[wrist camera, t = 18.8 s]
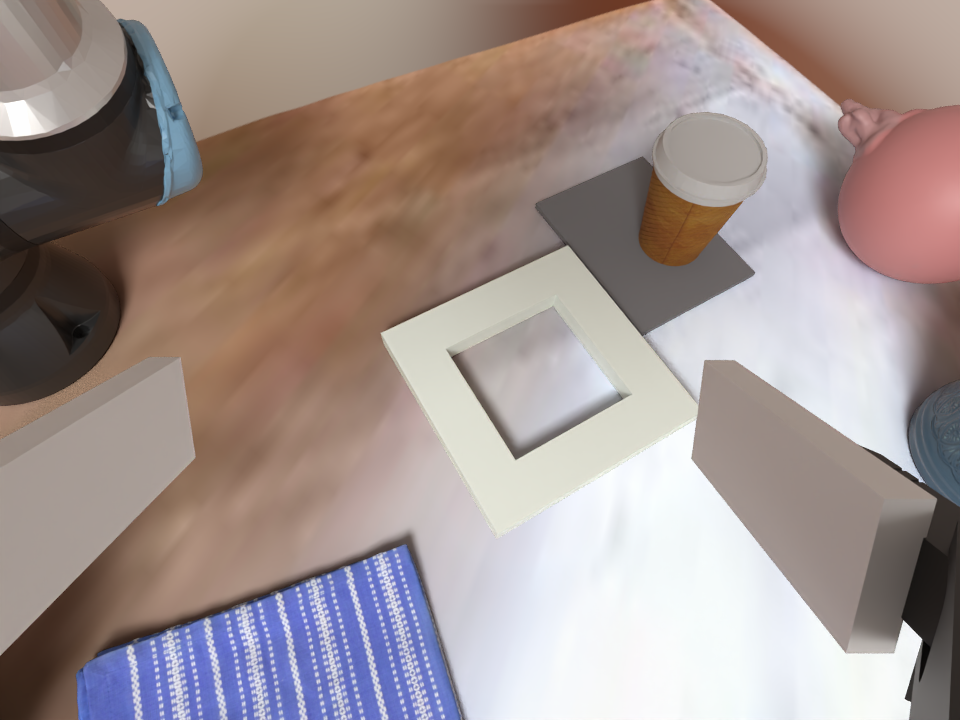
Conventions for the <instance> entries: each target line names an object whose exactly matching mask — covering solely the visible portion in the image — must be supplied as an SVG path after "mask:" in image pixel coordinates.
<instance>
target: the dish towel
mask: <svg viewBox="0 0 960 720" xmlns="http://www.w3.org/2000/svg"><path fill="white" fill-rule="evenodd" d="M97 656H98V657H96V658H94V659H92V660H90V661H89V662H87V663H86V664H85V666H84V667H83V668H82V669H80V670H79V671H78V672H77V674H76V679H77V703H78V716H79V720H463V718H462V714H461V711H460V707H459V705H458V700H457V698H456V693H455V691H454V687H453V684H452V681H451V677H450V674H449V671H448V667H447V664H446V660H445V657H444V654H443V650H442V647H441V643H440V640H439V636H438V633H437V629H436V627H435V623H434V620H433V616H432V614H431V610H430V607H429V604H428V601H427V598H426V595H425V592H424V588H423V585H422V581H421V579H420V576H419V574H418V571H417V568H416V565H415V563H414V561H413V558H412V556H411V553H410V550H409V549H408V547H407V544H404V545H401V546H399V547H397V548H393V549H392V550H389V551H386V552H383V553H378V554H377V555H374V556H372V557H370V558H367V559H365V560H362V561H358V562H356V563H353V564H350V565H348V566H342V567H340V568H339V569H336V570H334V571H331V572H328V573H323V574H322V575H319V576H316V577H312V578H309V579H307V580H304V581H302V582H299V583H297V584H293V585H291V586H289V587H286V588H284V589H281V590H277V591H274V592H272V593H270V594H268V595H265V596H262V597H259V598H256V599H253V600H251V601H248V602H244V603H241V604H238V605H236V606H234V607H232V608H230V609H228V610H225V611H222V612H219V613H216V614H213V615H210V616H207V617H204V618H201V619H198V620H195V621H191V622H188V623H185V624H183V625H177V626H174V627H171V628H168V629H166V630H164V631H162V632H159V633H155V634H153V635H148V636H145V637H143V638H137V639H134V640H132V641H130V642H128V643H125V644H122V645H119V646H116V647H112V648H109V649H106V650H103V651H101V652H99V653H98V654H97Z"/></svg>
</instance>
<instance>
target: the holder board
mask: <svg viewBox="0 0 960 720" xmlns="http://www.w3.org/2000/svg"><path fill="white" fill-rule="evenodd" d="M551 307H554V308H555V309H556V311H557V312H558V313H559V315H560V316H561V317H562V319H563V320H564V321H565V323H566V324H567V325H568V327H569V328H570V329H571V331H572V332H573V333H574V335H575V336H576V337H577V338H578V340H579V341H580V342H581V344H582V345H583V346H584V348H585V349H586V350H587V352H588V353H589V354H590V356H591V357H592V358H593V360H594V361H595V362H596V364H597V365H598V366H599V368H600V369H601V370H602V372H603V373H604V374H605V376H606V377H607V378H608V380H609V381H610V382H611V384H612V385H613V386H614V388H615V389H616V390H617V392H618V393H619V394H620V396H621V397H622V398H623V400H621V401H619V402H618V403H616V404H614V405H612V406H610V407H609V408H607V409H605V410H603V411H602V412H600V413H598V414H596V415H595V416H593V417H591V418H589V419H588V420H586V421H584V422H582V423H580V424H579V425H577V426H575V427H573V428H572V429H570V430H568V431H566V432H565V433H563V434H561V435H559V436H558V437H556V438H554V439H552V440H551V441H549V442H547V443H545V444H543V445H542V446H540V447H538V448H536V449H535V450H533V451H531V452H529V453H528V454H526V455H524V456H522V457H521V458H519V459H517V460H515V458H514V457H513V455H512V454H511V452H510V450H509V449H508V447H507V446H506V444H505V442H504V441H503V439H502V438H501V436H500V435H499V433H498V431H497V430H496V428H495V427H494V425H493V423H492V422H491V420H490V419H489V417H488V415H487V414H486V412H485V411H484V409H483V408H482V406H481V404H480V403H479V401H478V400H477V398H476V396H475V395H474V393H473V392H472V390H471V388H470V387H469V385H468V384H467V382H466V381H465V379H464V377H463V376H462V374H461V373H460V371H459V369H458V368H457V366H456V365H455V363H454V361H453V360H452V358H451V357H452V356H454V355H456V354H458V353H460V352H462V351H464V350H466V349H468V348H470V347H472V346H474V345H476V344H478V343H480V342H482V341H484V340H486V339H488V338H490V337H492V336H494V335H496V334H498V333H500V332H502V331H504V330H506V329H508V328H510V327H512V326H514V325H516V324H518V323H520V322H522V321H524V320H526V319H528V318H530V317H532V316H534V315H536V314H538V313H540V312H542V311H544V310H546V309H549V308H551ZM381 335H382V339H383V343H384V345H385V347H386V349H387V351H388V352H389V354H390V356H391V358H392V359H393V361H394V363H395V365H396V366H397V368H398V370H399V371H400V373H401V375H402V377H403V378H404V380H405V382H406V384H407V385H408V387H409V389H410V391H411V392H412V394H413V396H414V397H415V399H416V401H417V403H418V404H419V406H420V408H421V410H422V411H423V413H424V415H425V417H426V418H427V420H428V422H429V423H430V425H431V427H432V429H433V430H434V432H435V434H436V436H437V437H438V439H439V441H440V443H441V444H442V446H443V448H444V449H445V451H446V453H447V455H448V456H449V458H450V460H451V462H452V463H453V465H454V467H455V469H456V470H457V472H458V474H459V475H460V477H461V479H462V481H463V482H464V484H465V486H466V488H467V489H468V491H469V493H470V495H471V496H472V498H473V500H474V501H475V503H476V505H477V507H478V508H479V510H480V512H481V514H482V515H483V517H484V519H485V521H486V522H487V524H488V526H489V527H490V529H491V531H492V533H493V534H494V536H495V538H496V539H498V538H500V537H501V536H503V535H505V534H506V533H508V532H510V531H511V530H513V529H515V528H516V527H518V526H520V525H521V524H523V523H525V522H526V521H528V520H530V519H531V518H533V517H535V516H536V515H538V514H540V513H541V512H543V511H545V510H546V509H548V508H550V507H551V506H553V505H555V504H556V503H558V502H560V501H561V500H563V499H565V498H566V497H568V496H570V495H571V494H573V493H575V492H576V491H578V490H579V489H581V488H583V487H584V486H586V485H588V484H589V483H591V482H593V481H594V480H596V479H598V478H599V477H601V476H603V475H604V474H606V473H608V472H609V471H611V470H613V469H614V468H616V467H618V466H619V465H621V464H623V463H624V462H626V461H628V460H629V459H631V458H633V457H634V456H636V455H638V454H639V453H641V452H643V451H644V450H646V449H648V448H649V447H651V446H653V445H654V444H656V443H658V442H659V441H661V440H663V439H664V438H666V437H668V436H669V435H671V434H673V433H674V432H676V431H678V430H679V429H681V428H683V427H684V426H686V425H688V424H689V423H691V422H693V421H694V420H695V419H696V418H697V414H698V404H697V403H696V402H695V401H694V399H693V398H692V397H691V396H690V395H689V393H688V392H687V391H686V390H685V388H684V387H683V386H682V385H681V383H680V382H679V381H678V380H677V379H676V377H675V376H674V375H673V374H672V372H671V371H670V370H669V369H668V367H667V366H666V365H665V364H664V363H663V361H662V360H661V359H660V358H659V356H658V355H657V354H656V353H655V352H654V350H653V349H652V348H651V347H650V345H649V344H648V343H647V342H646V340H645V339H644V338H643V337H642V336H641V334H640V333H639V332H638V331H637V329H636V328H635V327H634V326H633V324H632V323H631V322H630V321H629V320H628V318H627V317H626V316H625V315H624V313H623V312H622V311H621V310H620V308H619V307H618V306H617V305H616V304H615V302H614V301H613V300H612V299H611V297H610V296H609V295H608V294H607V292H606V291H605V290H604V289H603V288H602V286H601V285H600V284H599V283H598V281H597V280H596V279H595V278H594V277H593V275H592V274H591V273H590V272H589V270H588V269H587V268H586V267H585V265H584V264H583V263H582V262H581V261H580V259H579V258H578V257H577V256H576V254H575V253H574V252H573V251H572V249H571V248H570V247H569V246H568V245H567V246H565V247H563V248H561V249H559V250H557V251H554V252H552V253H550V254H548V255H546V256H544V257H542V258H540V259H537V260H535V261H533V262H531V263H529V264H527V265H525V266H523V267H520V268H518V269H516V270H514V271H512V272H510V273H508V274H506V275H503V276H501V277H499V278H497V279H495V280H493V281H491V282H489V283H486V284H484V285H482V286H480V287H478V288H476V289H474V290H472V291H469V292H467V293H465V294H463V295H461V296H459V297H457V298H455V299H452V300H450V301H448V302H446V303H444V304H442V305H440V306H438V307H435V308H433V309H431V310H429V311H427V312H425V313H423V314H420V315H418V316H416V317H414V318H412V319H410V320H408V321H406V322H403V323H401V324H399V325H397V326H395V327H393V328H391V329H389V330H386V331H384V332H382V333H381Z"/></svg>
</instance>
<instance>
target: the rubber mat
mask: <svg viewBox="0 0 960 720" xmlns="http://www.w3.org/2000/svg"><path fill="white" fill-rule="evenodd" d="M652 171H653V167H652V166H651V165H650V164H649V163H648V162H647V161H646V159H645V158H644V157H640V158H638V159H636V160H634V161H631V162H629V163H627V164H624V165H622V166H620V167H618V168H615V169H613V170H611V171H609V172H606V173H604V174H602V175H600V176H597V177H595V178H593V179H590V180H588V181H586V182H584V183H581V184H579V185H577V186H575V187H572V188H570V189H568V190H566V191H563V192H561V193H559V194H556V195H554V196H552V197H550V198H547V199H545V200H543V201H541V202H538V203H536V207H535V208H536V209H537V210H538V211H539V213H540V214H541V215H542V216H543V218H544V219H545V220H546V221H547V222H548V224H549V225H550V226H551V227H552V229H553V230H554V231H555V232H556V234H557V235H558V236H559V237H560V238H561V240H562V241H563V242H564V243H565V245H566V246H567V245H568V246H569V247H570V248H571V249H572V251H573V252H574V253H575V254H576V256H577V257H578V258H579V259H580V261H581V262H582V263H583V264H584V265H585V267H586V268H587V269H588V270H589V272H590V273H591V274H592V275H593V277H594V278H595V279H596V280H597V281H598V283H599V284H600V285H601V286H602V288H603V289H604V290H605V291H606V292H607V294H608V295H609V296H610V297H611V299H612V300H613V301H614V302H615V304H616V305H617V306H618V307H619V308H620V310H621V311H622V312H623V313H624V315H625V316H626V317H627V318H628V320H629V321H630V322H631V323H632V324H633V326H634V327H635V328H636V329H637V331H638V332H639V333H640V334H641V336H642V335H644V334H646V333H648V332H650V331H652V330H653V329H655V328H657V327H659V326H661V325H663V324H665V323H666V322H668V321H670V320H672V319H674V318H676V317H678V316H679V315H681V314H683V313H685V312H687V311H689V310H691V309H692V308H694V307H696V306H698V305H700V304H702V303H704V302H705V301H707V300H709V299H711V298H713V297H715V296H717V295H718V294H720V293H722V292H724V291H726V290H728V289H730V288H731V287H733V286H735V285H737V284H739V283H741V282H743V281H744V280H746V279H748V278H750V277H752V276H753V275H754V274H755V272H754V271H753V270H752V269H751V268H750V267H749V266H748V265H747V264H746V262H745V261H744V260H743V259H742V258H741V257H740V256H739V255H738V254H737V253H736V252H735V251H734V250H733V249H732V248H731V247H730V246H729V245H728V244H727V243H726V242H725V241H724V240H723V239H722V238H721V237H720V236H719V235H718V234H716V235H715V236H714V237H713V239H712V240H711V241H710V242H709V243H708V245H707V246H706V247H705V248H704V249H703V251H702V252H701V253H700V254H699V256H698V257H697V258H696V259H695V260H694V261H692V262H691V263H689V264H686V265H683V266H667V265H664V264H660V263H658V262H656V261H654V260H652V259H651V258H650V257H649V256H647V255H646V254H645V253H644V251H643V250H642V248H641V246H640V244H639V232H640V227H641V223H642V220H643V219H642V218H643V213H644V208H645V203H646V199H647V194H648V189H649V185H650V181H651V176H652Z"/></svg>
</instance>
